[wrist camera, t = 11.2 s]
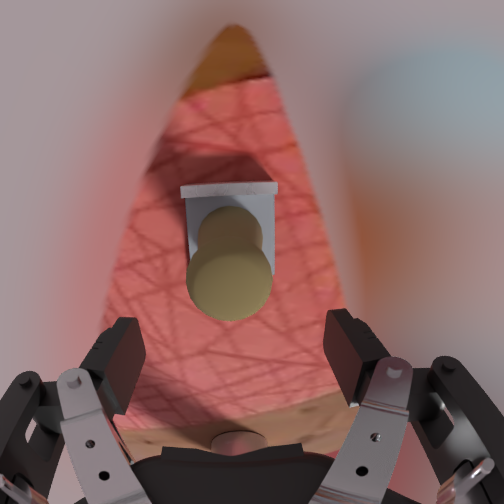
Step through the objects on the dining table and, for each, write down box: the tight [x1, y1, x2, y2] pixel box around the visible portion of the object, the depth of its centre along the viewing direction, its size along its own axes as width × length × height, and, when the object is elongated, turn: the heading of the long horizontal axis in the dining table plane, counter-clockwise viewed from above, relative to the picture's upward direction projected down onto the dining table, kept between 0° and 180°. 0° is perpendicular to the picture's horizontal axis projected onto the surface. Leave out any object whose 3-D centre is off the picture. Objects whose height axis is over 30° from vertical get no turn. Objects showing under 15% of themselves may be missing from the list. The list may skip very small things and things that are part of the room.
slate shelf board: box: [185, 194, 275, 275], centre depth 26 cm, size 8×8×1 cm
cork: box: [186, 206, 273, 321], centre depth 20 cm, size 6×6×11 cm
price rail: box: [180, 180, 278, 198], centre depth 23 cm, size 1×8×2 cm, turn 91°
